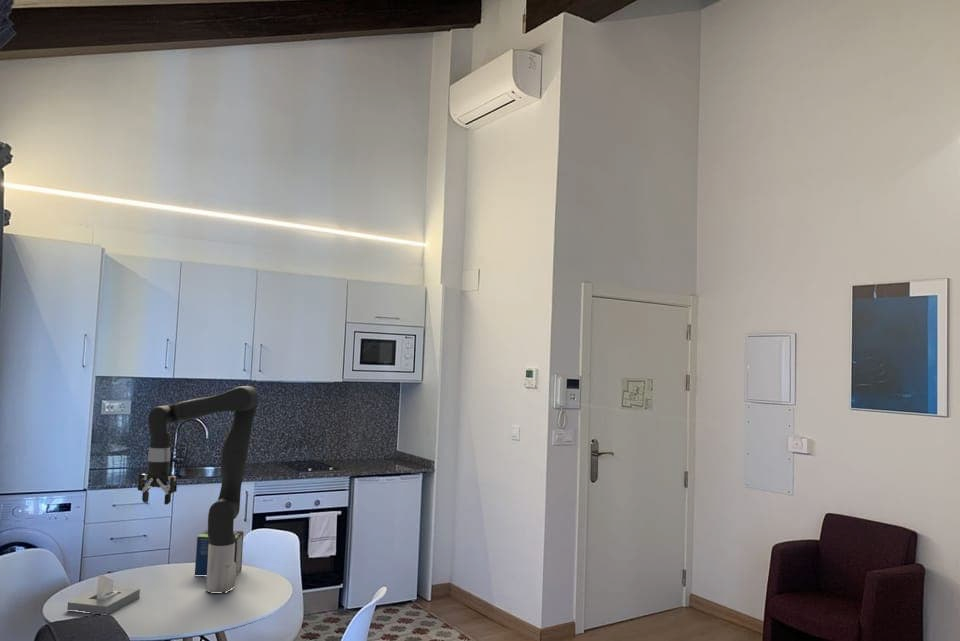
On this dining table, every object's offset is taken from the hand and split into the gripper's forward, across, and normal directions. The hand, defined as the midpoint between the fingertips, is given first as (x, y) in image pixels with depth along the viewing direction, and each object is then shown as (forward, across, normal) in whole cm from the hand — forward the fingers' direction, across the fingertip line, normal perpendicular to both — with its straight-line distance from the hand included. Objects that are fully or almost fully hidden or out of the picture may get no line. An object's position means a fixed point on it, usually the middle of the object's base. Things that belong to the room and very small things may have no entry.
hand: (156, 503), depth 269 cm
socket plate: (+30, -3, -22) cm, 37 cm away
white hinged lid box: (+30, -2, -22) cm, 37 cm away
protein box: (+30, +16, +20) cm, 40 cm away
